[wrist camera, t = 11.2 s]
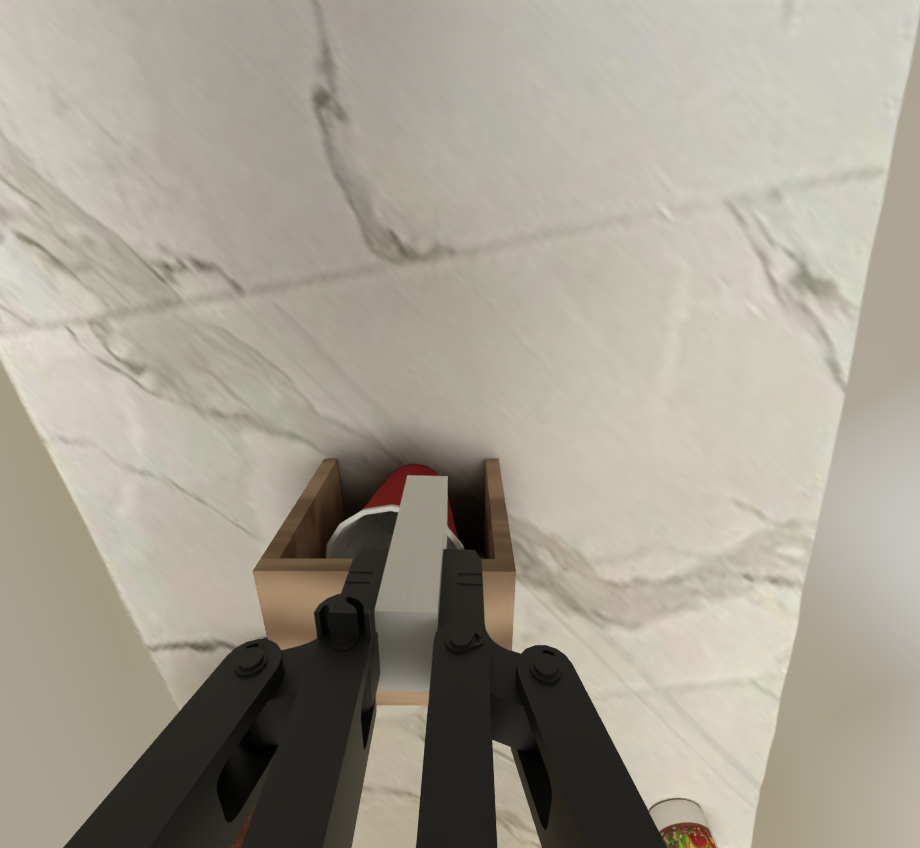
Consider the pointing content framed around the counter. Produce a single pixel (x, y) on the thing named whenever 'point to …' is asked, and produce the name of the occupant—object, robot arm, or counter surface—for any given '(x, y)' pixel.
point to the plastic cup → (381, 519)
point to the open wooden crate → (316, 578)
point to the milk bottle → (682, 825)
